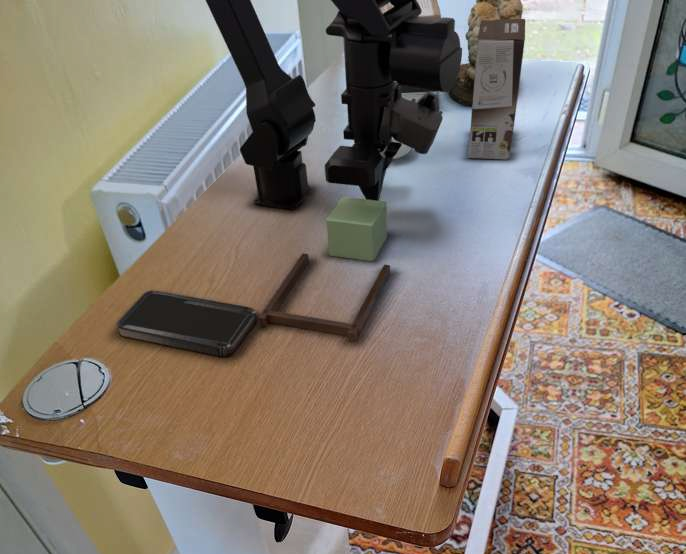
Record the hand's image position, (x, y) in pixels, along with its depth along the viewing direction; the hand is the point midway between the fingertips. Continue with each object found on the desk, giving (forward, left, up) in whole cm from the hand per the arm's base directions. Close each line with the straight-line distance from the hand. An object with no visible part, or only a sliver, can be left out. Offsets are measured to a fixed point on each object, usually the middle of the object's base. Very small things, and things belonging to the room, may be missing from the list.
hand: (373, 205), depth 90 cm
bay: (0, -19, -2) cm, 19 cm away
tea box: (-7, +41, -2) cm, 42 cm away
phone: (-14, -28, -2) cm, 31 cm away
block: (0, -7, -2) cm, 7 cm away
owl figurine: (+5, +48, -2) cm, 48 cm away
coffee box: (+11, +25, -2) cm, 27 cm away
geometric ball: (-3, +19, -2) cm, 19 cm away
